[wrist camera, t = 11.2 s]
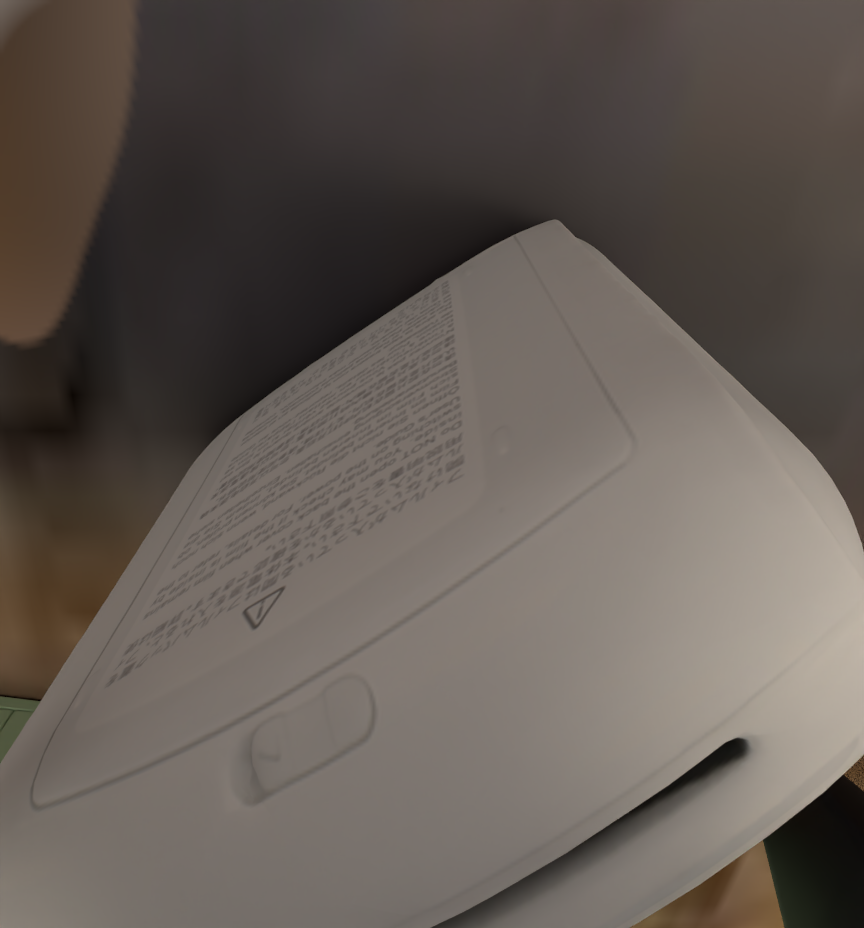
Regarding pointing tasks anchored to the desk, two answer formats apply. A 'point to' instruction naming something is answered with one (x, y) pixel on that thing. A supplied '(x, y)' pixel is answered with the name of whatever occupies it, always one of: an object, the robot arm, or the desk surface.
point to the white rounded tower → (455, 636)
